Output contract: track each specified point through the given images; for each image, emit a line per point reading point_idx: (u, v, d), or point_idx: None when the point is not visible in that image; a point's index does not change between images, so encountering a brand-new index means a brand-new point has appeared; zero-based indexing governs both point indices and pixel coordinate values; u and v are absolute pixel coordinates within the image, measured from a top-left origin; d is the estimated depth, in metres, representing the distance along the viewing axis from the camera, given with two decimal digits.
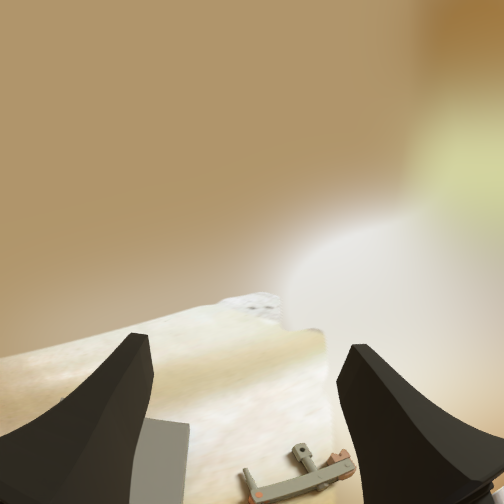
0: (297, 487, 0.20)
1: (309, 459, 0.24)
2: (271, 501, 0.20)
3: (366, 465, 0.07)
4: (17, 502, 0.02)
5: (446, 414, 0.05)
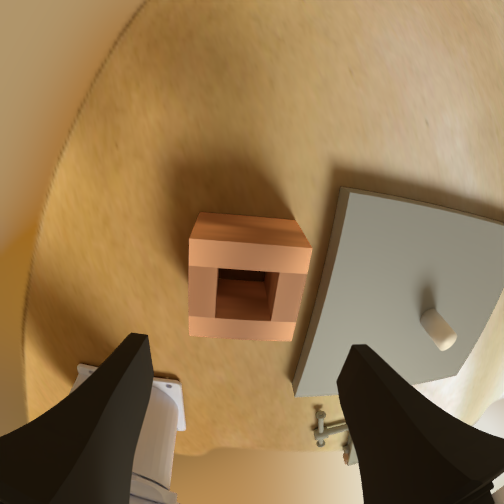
0: None
1: None
2: None
3: (366, 465, 0.07)
4: (17, 502, 0.02)
5: (446, 414, 0.05)
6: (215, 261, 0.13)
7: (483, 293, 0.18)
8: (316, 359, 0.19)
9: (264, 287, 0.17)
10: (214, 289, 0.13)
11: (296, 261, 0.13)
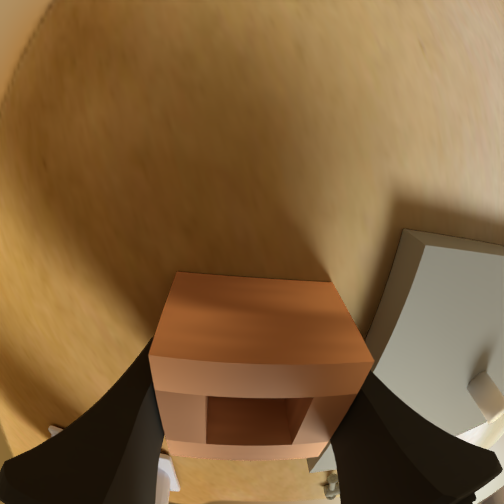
0: None
1: None
2: None
3: (343, 469, 0.07)
4: None
5: (425, 421, 0.05)
6: (200, 388, 0.06)
7: None
8: None
9: None
10: (202, 418, 0.07)
11: (344, 381, 0.07)
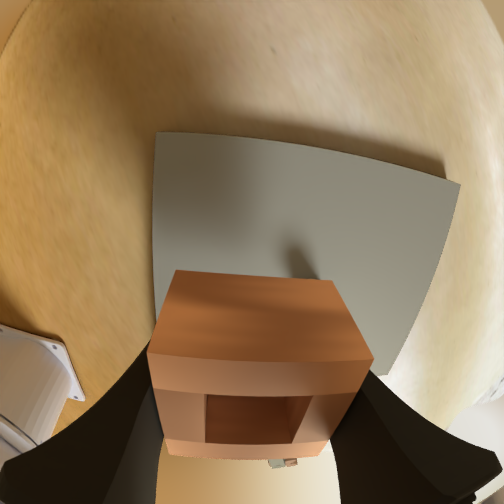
0: None
1: None
2: None
3: (343, 469, 0.07)
4: None
5: (425, 420, 0.05)
6: (199, 386, 0.06)
7: (401, 265, 0.17)
8: None
9: None
10: (201, 417, 0.07)
11: (344, 379, 0.07)
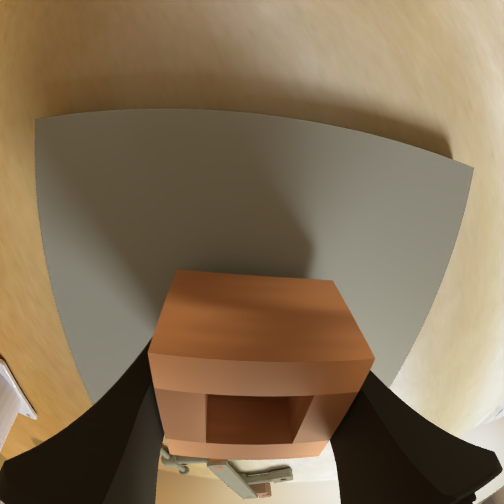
0: (228, 481, 0.19)
1: None
2: None
3: (343, 469, 0.07)
4: None
5: (425, 421, 0.05)
6: (200, 386, 0.06)
7: (387, 286, 0.11)
8: (82, 358, 0.13)
9: None
10: (202, 417, 0.07)
11: (345, 379, 0.07)
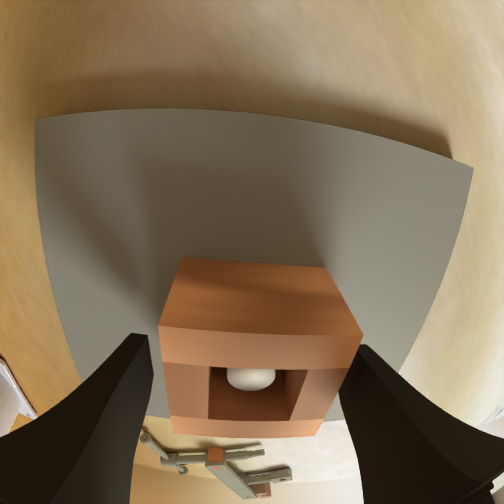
0: (227, 482, 0.19)
1: (267, 482, 0.21)
2: None
3: (366, 465, 0.07)
4: (17, 502, 0.02)
5: (446, 414, 0.05)
6: (204, 358, 0.07)
7: (387, 286, 0.11)
8: (82, 358, 0.13)
9: None
10: (205, 390, 0.08)
11: (336, 354, 0.08)
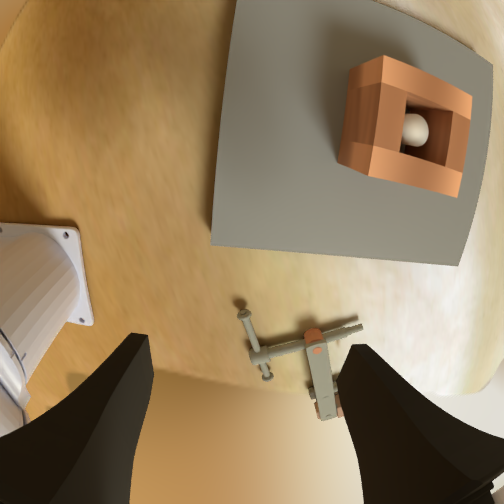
0: (318, 381, 0.21)
1: None
2: None
3: (366, 465, 0.07)
4: (17, 502, 0.02)
5: (446, 414, 0.05)
6: (406, 83, 0.09)
7: None
8: (229, 167, 0.15)
9: (409, 156, 0.14)
10: (403, 115, 0.10)
11: (463, 104, 0.10)
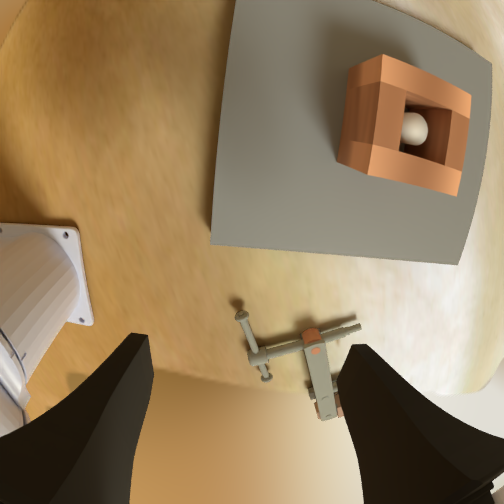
0: (317, 382, 0.21)
1: None
2: None
3: (366, 465, 0.07)
4: (17, 502, 0.02)
5: (446, 414, 0.05)
6: (405, 82, 0.09)
7: None
8: (228, 167, 0.15)
9: None
10: (402, 113, 0.10)
11: (462, 103, 0.10)
